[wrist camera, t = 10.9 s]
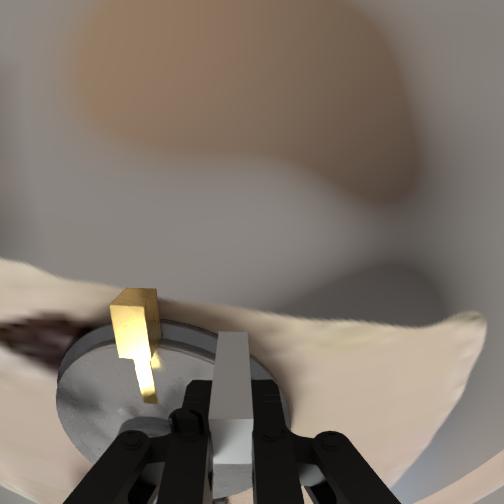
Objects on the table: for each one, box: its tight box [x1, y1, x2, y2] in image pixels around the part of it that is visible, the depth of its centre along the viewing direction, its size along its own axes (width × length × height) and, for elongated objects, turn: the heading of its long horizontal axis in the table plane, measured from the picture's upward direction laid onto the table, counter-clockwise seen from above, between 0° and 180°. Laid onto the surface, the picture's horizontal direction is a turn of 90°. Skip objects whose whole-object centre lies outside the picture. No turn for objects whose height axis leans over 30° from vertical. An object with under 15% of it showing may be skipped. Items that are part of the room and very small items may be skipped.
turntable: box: [56, 288, 255, 499], centre depth 22 cm, size 22×26×3 cm
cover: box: [116, 417, 171, 504], centre depth 19 cm, size 8×8×6 cm
